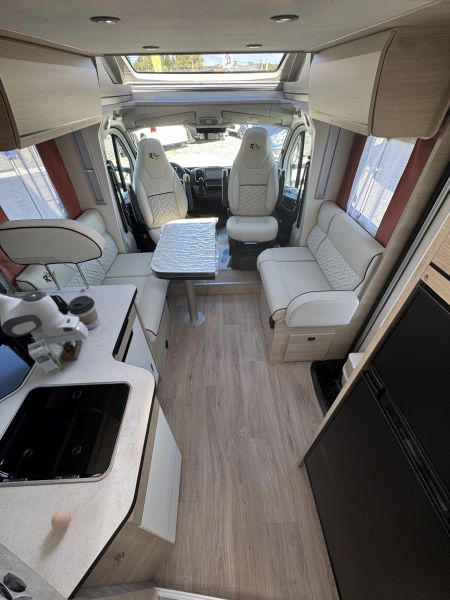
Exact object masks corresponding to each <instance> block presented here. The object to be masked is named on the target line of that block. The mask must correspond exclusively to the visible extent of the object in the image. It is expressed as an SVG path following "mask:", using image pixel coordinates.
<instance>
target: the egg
mask: <svg viewBox="0 0 450 600" xmlns="http://www.w3.org/2000/svg"><path fill="white" fill-rule="evenodd" d="M71 519H72V512H71V511H70V509H68V508H60V509H58V510H57V511H55V512H54V513H53V515H52V516H51V521H50V524H51V527H52V529H54V530H56V531H61V530H64V529H65V528H66V527H67V526H68V525H69V524H70V522H71Z"/></svg>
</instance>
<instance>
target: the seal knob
mask: <svg viewBox="0 0 450 600" xmlns="http://www.w3.org/2000/svg"><path fill="white" fill-rule="evenodd" d="M63 349H65V350H66V352H71V349H72V347H71V346H70V341H68V342H65V344H64V347H63Z"/></svg>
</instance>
